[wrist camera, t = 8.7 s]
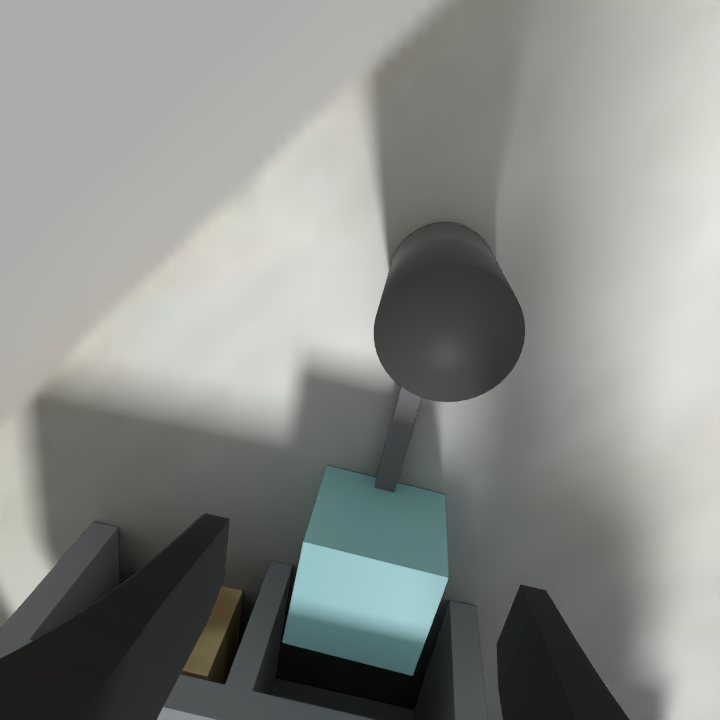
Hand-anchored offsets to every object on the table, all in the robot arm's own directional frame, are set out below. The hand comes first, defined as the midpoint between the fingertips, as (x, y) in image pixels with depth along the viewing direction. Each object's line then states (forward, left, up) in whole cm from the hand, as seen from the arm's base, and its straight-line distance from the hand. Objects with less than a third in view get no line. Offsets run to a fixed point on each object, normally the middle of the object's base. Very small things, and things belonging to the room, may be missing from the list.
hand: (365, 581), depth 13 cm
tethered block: (0, 0, -8) cm, 8 cm away
